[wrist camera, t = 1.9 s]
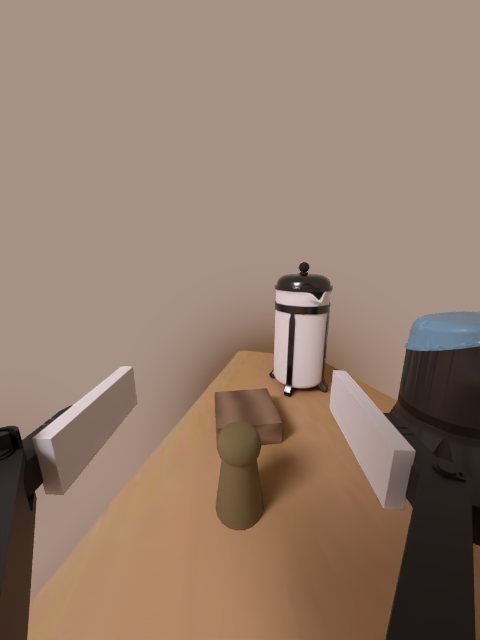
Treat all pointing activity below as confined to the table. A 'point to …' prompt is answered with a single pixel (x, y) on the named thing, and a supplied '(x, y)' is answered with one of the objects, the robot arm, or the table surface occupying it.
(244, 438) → the olive pawn
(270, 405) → the walnut base
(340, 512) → the table surface
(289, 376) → the coffee press
